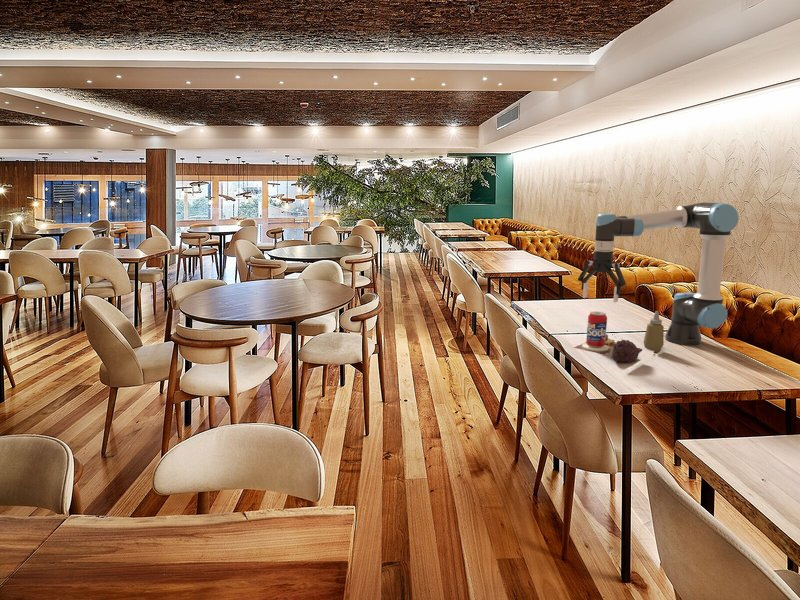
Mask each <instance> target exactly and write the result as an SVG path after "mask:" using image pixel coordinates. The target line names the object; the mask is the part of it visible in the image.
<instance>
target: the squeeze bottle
mask: <svg viewBox="0 0 800 600" xmlns="http://www.w3.org/2000/svg"><path fill="white" fill-rule="evenodd" d="M659 314H660V313H659V311H658V310H657V311H655V312H654V315H653V317H652V318H650V319H649V323H647V326H646V330H645V334H644V338H643V345H644V348H645V349H647V350H650V351H653V352H652V353H654V354H656V353H657V354H658V353H661V350H662V349H663V347H664V343H665V341H664V340H665V338H664V336H665V335H664V334H665V333H664V327H665V326H664V325H663V324H662V322H663V320H662V319H660V315H659Z"/></svg>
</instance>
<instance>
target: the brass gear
mask: <svg viewBox="0 0 800 600" xmlns="http://www.w3.org/2000/svg"><path fill="white" fill-rule="evenodd" d="M614 342H615V340H614V339H611V338H609V334H607V333H606V339H605V345H607V346H610V345H614Z"/></svg>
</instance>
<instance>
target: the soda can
mask: <svg viewBox="0 0 800 600" xmlns="http://www.w3.org/2000/svg"><path fill="white" fill-rule="evenodd" d="M586 325H587V327H586V339H585V340H586V341H585V342H586V344H587V345H588V346H590V347H594V348H601V347H603V346H605V339H606V334H607V327H608V326H607V325H608V316H607V313H605V312H604V311H590V312H589V315H588V317H587V324H586Z"/></svg>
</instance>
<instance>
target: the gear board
mask: <svg viewBox="0 0 800 600" xmlns="http://www.w3.org/2000/svg"><path fill="white" fill-rule="evenodd" d="M584 343H586V341H585V342H584ZM584 343H581V344H578V345H576V346H574V347H573V348H574V349H579V350H583V351H586V352H587V351H588V352H591V353H597V354H601V355H605V356H606V355H607V354H609V353H612V350H613V349H614V348H613V346H614V345H615V344H617V341H614V345H610V346H608V347H609V350H608V351H603V352H597V351H590V350H586V349H584V348H583V347H582V344H584Z"/></svg>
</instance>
